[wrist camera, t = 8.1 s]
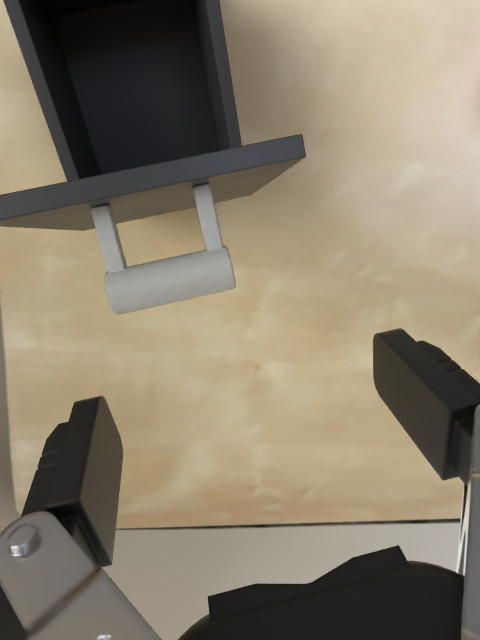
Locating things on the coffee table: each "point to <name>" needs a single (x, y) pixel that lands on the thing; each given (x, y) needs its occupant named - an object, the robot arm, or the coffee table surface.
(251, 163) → the lid
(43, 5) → the dark grey hollow box
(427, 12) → the coffee table surface
